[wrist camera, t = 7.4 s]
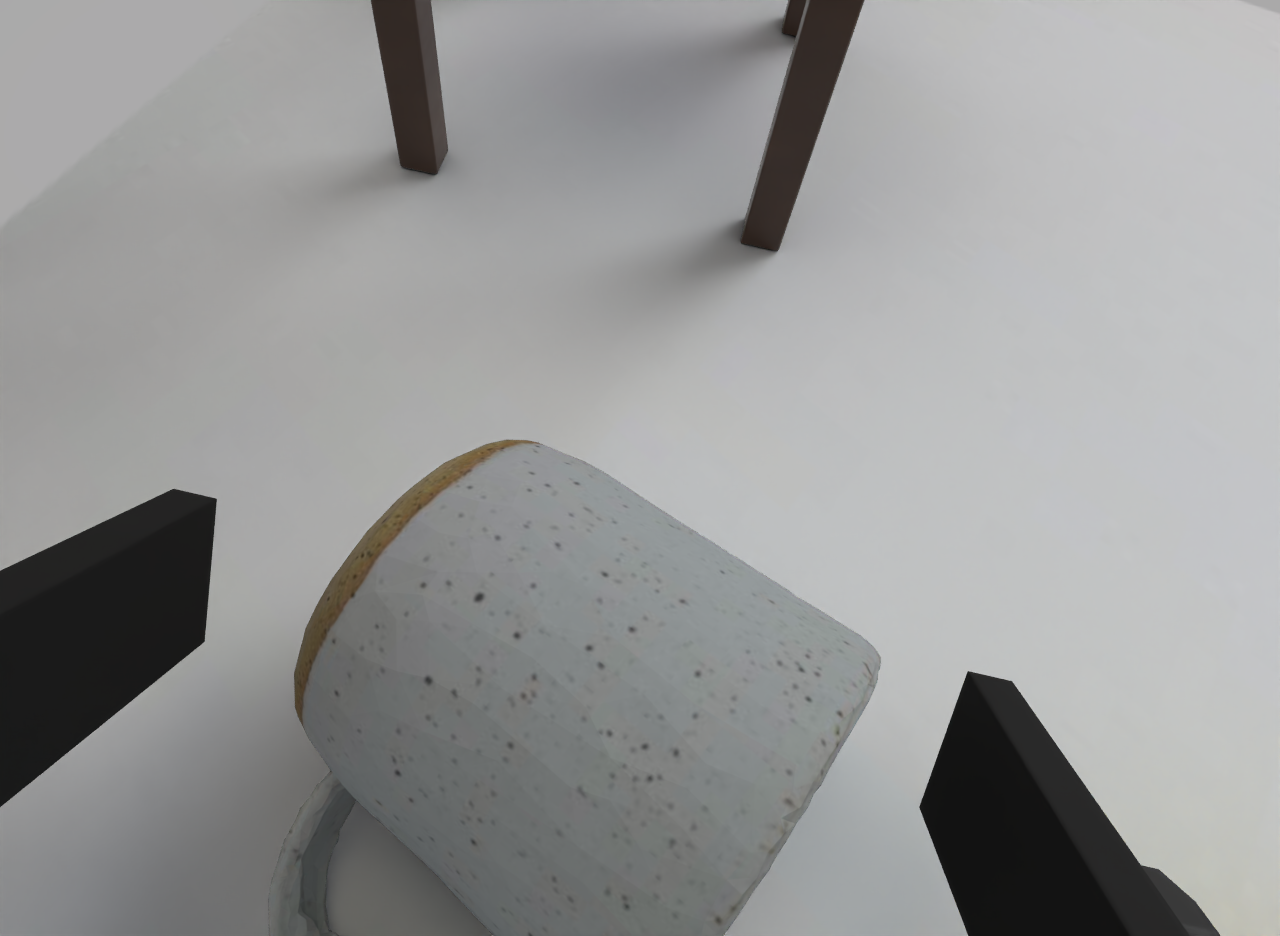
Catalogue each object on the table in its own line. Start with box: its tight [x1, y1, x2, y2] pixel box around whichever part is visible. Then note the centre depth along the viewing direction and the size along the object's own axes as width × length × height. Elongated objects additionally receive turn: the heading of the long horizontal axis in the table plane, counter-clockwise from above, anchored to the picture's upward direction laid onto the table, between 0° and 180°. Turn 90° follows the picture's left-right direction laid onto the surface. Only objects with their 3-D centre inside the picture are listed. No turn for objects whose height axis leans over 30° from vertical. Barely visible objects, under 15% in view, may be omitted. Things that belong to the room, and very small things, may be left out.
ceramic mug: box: [268, 440, 881, 936], centre depth 15 cm, size 11×8×8 cm
